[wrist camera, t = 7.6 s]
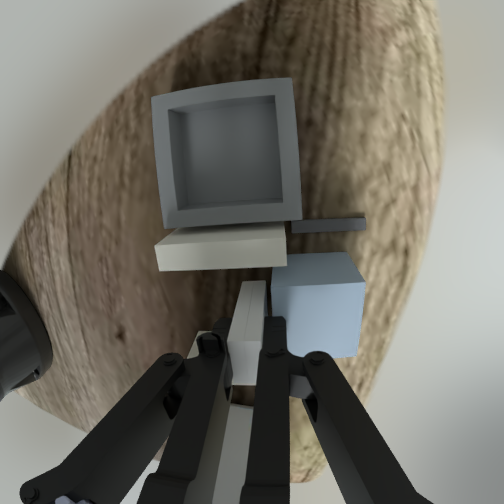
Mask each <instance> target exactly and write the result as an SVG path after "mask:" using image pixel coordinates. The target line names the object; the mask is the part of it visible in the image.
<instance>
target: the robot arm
mask: <svg viewBox="0 0 504 504" xmlns="http://www.w3.org/2000/svg"><path fill="white" fill-rule="evenodd" d="M196 342H197V346H198V351H199V354H198V356H196V357H193V358H188V359H183V357H182V356H181V355H180V354H178V353H166V354H164V355H162V356H161V357H159V358H158V359H157V360H156V361H155V363H154V364H153V365H152V366H151V367H150V368H149V369H148V370H147V371H146V372H145V373H144V374H143V376H142V377H141V378H140V379H139V380H138V381H137V382H136V383H135V384H134V385H133V386H132V387H131V389H130V390H129V391H128V392H127V393H126V394H125V395H124V396H123V397H122V398H121V399H120V400H119V401H118V403H117V404H116V405H115V406H114V407H113V408H112V409H111V410H110V411H109V412H108V413H107V414H106V416H105V417H104V418H103V419H102V420H101V421H100V422H99V423H98V424H97V425H96V426H95V427H94V428H93V430H92V431H91V432H90V433H89V434H88V435H87V436H86V437H85V438H84V439H83V440H82V441H81V443H80V444H79V445H78V446H77V447H76V448H75V449H74V450H73V451H72V452H71V453H70V454H69V455H68V456H67V458H66V459H65V460H64V461H63V462H62V463H61V464H60V465H59V466H57V467H55V468H53V469H51V470H49V471H47V472H45V473H43V474H41V475H39V476H37V477H35V478H33V479H31V480H29V481H27V482H25V483H24V484H23V485H22V486H21V488H20V498H21V500H22V502H23V503H24V504H120V502H121V501H122V500H123V499H124V497H125V496H126V494H127V493H128V492H129V490H130V489H131V488H132V486H133V485H134V484H135V482H136V481H137V480H138V478H139V477H140V476H141V474H142V473H143V471H144V470H145V469H146V467H147V466H148V464H149V463H150V462H151V460H152V459H153V457H154V456H155V455H156V453H157V452H158V450H159V449H160V448H161V446H162V445H163V443H164V442H165V440H166V439H167V438H168V436H169V438H168V440H167V443H166V446H165V449H164V452H163V455H162V458H161V460H160V463H159V466H158V469H157V471H156V472H155V473H150V474H149V475H148V476H147V478H146V480H145V482H144V485H143V487H142V490H141V493H140V496H139V499H138V501H137V504H212V501H213V495H214V490H215V485H216V479H217V474H218V468H219V463H220V458H221V452H222V447H223V441H224V436H225V431H226V425H227V420H228V414H229V409H230V403H231V398H232V392H233V388H232V379H233V380H234V383H256V389H255V398H254V407H253V416H252V425H251V434H250V443H249V452H248V460H247V468H246V477H245V483H244V485H243V486H242V489H241V494H240V501H239V504H290V421H289V396H292V397H297V398H302V402H303V405H304V407H305V409H306V412H307V414H308V416H309V419H310V421H311V424H312V426H313V428H314V431H315V433H316V435H317V438H318V440H319V442H320V445H321V447H322V449H323V452H324V454H325V456H326V459H327V461H328V463H329V465H330V468H331V470H332V472H333V475H334V477H335V479H336V482H337V484H338V486H339V488H340V491H341V493H342V495H343V497H344V500H345V502H346V504H433V503H432V502H430V501H429V500H427V499H426V498H424V497H423V496H422V495H420V494H419V493H417V492H416V490H415V489H414V487H413V486H412V484H411V482H410V481H409V479H408V477H407V476H406V474H405V473H404V471H403V469H402V468H401V466H400V464H399V463H398V461H397V460H396V458H395V456H394V455H393V453H392V452H391V450H390V448H389V447H388V445H387V444H386V442H385V440H384V439H383V437H382V436H381V434H380V433H379V431H378V429H377V428H376V426H375V424H374V423H373V421H372V420H371V418H370V417H369V415H368V413H367V412H366V410H365V408H364V407H363V405H362V404H361V402H360V401H359V399H358V397H357V396H356V394H355V393H354V391H353V390H352V388H351V386H350V385H349V383H348V382H347V380H346V379H345V377H344V375H343V374H342V372H341V371H340V369H339V368H338V366H337V364H336V363H335V361H334V360H333V358H332V357H331V356H330V355H329V354H328V353H326V352H324V351H312V352H309V353H307V354H306V355H305V356H304V357H300V356H296V355H293V354H292V353H290V352H289V350H288V348H287V330H286V320H285V318H284V317H283V316H268V306H267V291H266V280H263V281H242V285H241V289H240V293H239V297H238V300H237V304H236V308H235V312H234V316H233V318H219V319H218V320H217V321H216V322H215V324H214V327H213V329H212V332H206V333H203V334H201V335H199V336H198V337H197V338H196ZM51 365H52V349H51V345H50V342H49V338H48V336H47V333H46V331H45V328H44V326H43V324H42V322H41V320H40V318H39V316H38V314H37V312H36V311H35V309H34V307H33V306H32V304H31V302H30V301H29V299H28V298H27V296H26V295H25V294H24V292H23V291H22V290H21V288H20V287H19V286H18V285H17V284H16V282H15V281H14V280H13V279H12V278H11V277H10V276H8V275H7V274H6V273H5V272H3V271H1V270H0V401H1V400H2V399H3V398H4V397H5V396H6V395H7V394H8V393H9V392H12V391H14V390H16V389H18V388H21V387H23V386H25V385H27V384H29V383H31V382H34V381H36V380H38V379H39V378H41V377H42V376H43V375H44V374H45V373H46V371H47V370H48V369H49V368H50V367H51Z"/></svg>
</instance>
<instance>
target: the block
mask: <svg viewBox="0 0 504 504" xmlns="http://www.w3.org/2000/svg"><path fill="white" fill-rule="evenodd" d="M365 284H366V282H365V280H364V279H363V277H362V275H361V274H360V272H359V271H358V269H357V267H356V266H355V264H354V263H353V261H352V260H351V258H350V256H349V255H348V253H347V252H328V253H306V254H287V266H278V267H273V270H272V281H271V298H272V316H283V317H284V318H285V320H286V330H287V348H288V350H289V352H290V353H292V354H293V355H296V356H300V357H304V356H305V355H306V354H307V353H309V352H312V351H324V352H326V353H328V354H329V355H330V356H331V357H332V358H342V357H353V356H357V350H358V343H359V336H360V329H361V322H362V313H363V305H364V295H365Z"/></svg>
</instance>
